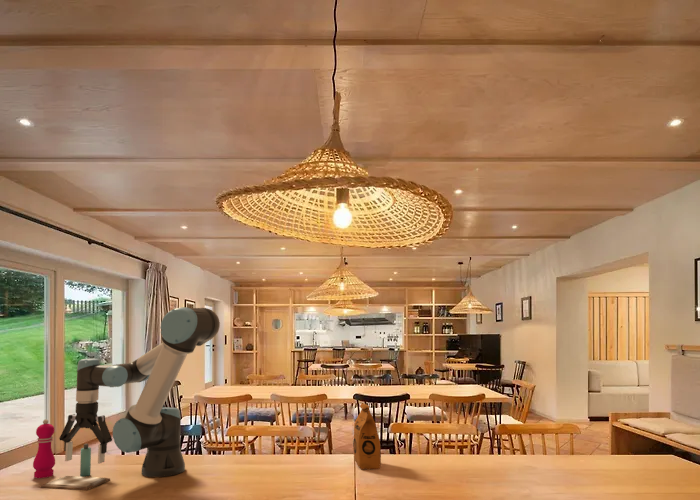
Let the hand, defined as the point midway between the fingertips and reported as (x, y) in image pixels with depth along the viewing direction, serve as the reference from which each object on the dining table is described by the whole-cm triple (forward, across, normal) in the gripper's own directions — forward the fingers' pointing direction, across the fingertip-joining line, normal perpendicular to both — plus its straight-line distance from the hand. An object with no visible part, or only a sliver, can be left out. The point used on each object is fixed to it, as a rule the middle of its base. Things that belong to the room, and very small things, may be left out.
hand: (84, 461), depth 215 cm
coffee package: (+3, -98, -29) cm, 103 cm away
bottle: (+5, 0, 0) cm, 5 cm away
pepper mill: (+5, +14, +3) cm, 16 cm away
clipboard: (+5, -4, +10) cm, 12 cm away
